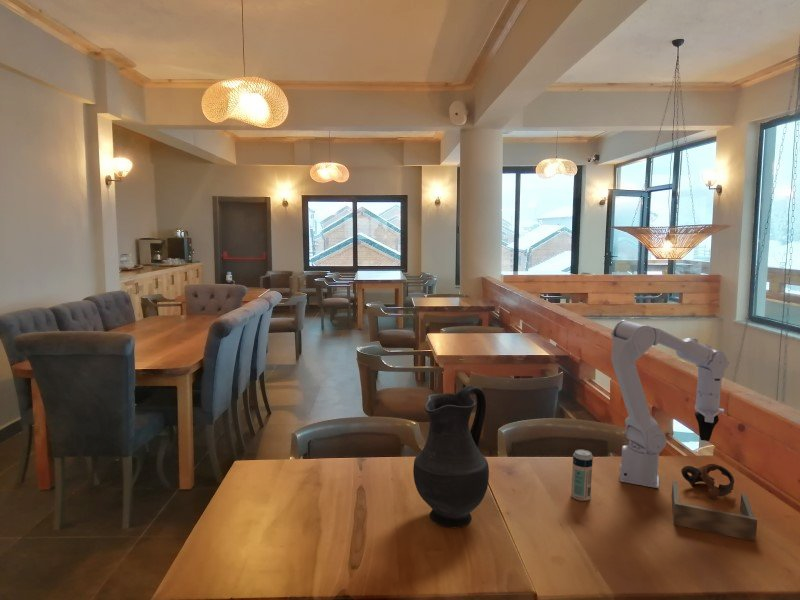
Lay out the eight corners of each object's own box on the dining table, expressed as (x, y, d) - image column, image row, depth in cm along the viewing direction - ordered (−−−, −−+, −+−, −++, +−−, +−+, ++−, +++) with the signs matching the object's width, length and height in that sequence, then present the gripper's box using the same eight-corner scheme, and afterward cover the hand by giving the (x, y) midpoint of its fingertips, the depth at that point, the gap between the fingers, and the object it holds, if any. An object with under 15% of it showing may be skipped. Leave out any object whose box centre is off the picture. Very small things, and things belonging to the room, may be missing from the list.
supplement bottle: (588, 493, 140) (590, 449, 138) (592, 502, 135) (595, 456, 134) (569, 492, 140) (571, 448, 139) (573, 501, 136) (575, 455, 134)
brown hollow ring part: (721, 485, 147) (736, 467, 142) (724, 515, 139) (739, 496, 134) (675, 469, 150) (687, 450, 145) (675, 496, 142) (688, 478, 137)
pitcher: (398, 517, 127) (399, 392, 124) (452, 488, 142) (455, 376, 139) (457, 546, 115) (461, 410, 112) (510, 511, 131) (514, 389, 127)
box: (673, 524, 125) (675, 503, 125) (671, 495, 139) (673, 477, 139) (755, 541, 119) (757, 519, 118) (744, 509, 133) (746, 490, 132)
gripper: (728, 401, 141) (724, 451, 142) (722, 387, 154) (718, 433, 156) (697, 397, 144) (693, 446, 145) (694, 384, 157) (690, 429, 158)
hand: (704, 439), depth 151 cm, fingers closed
